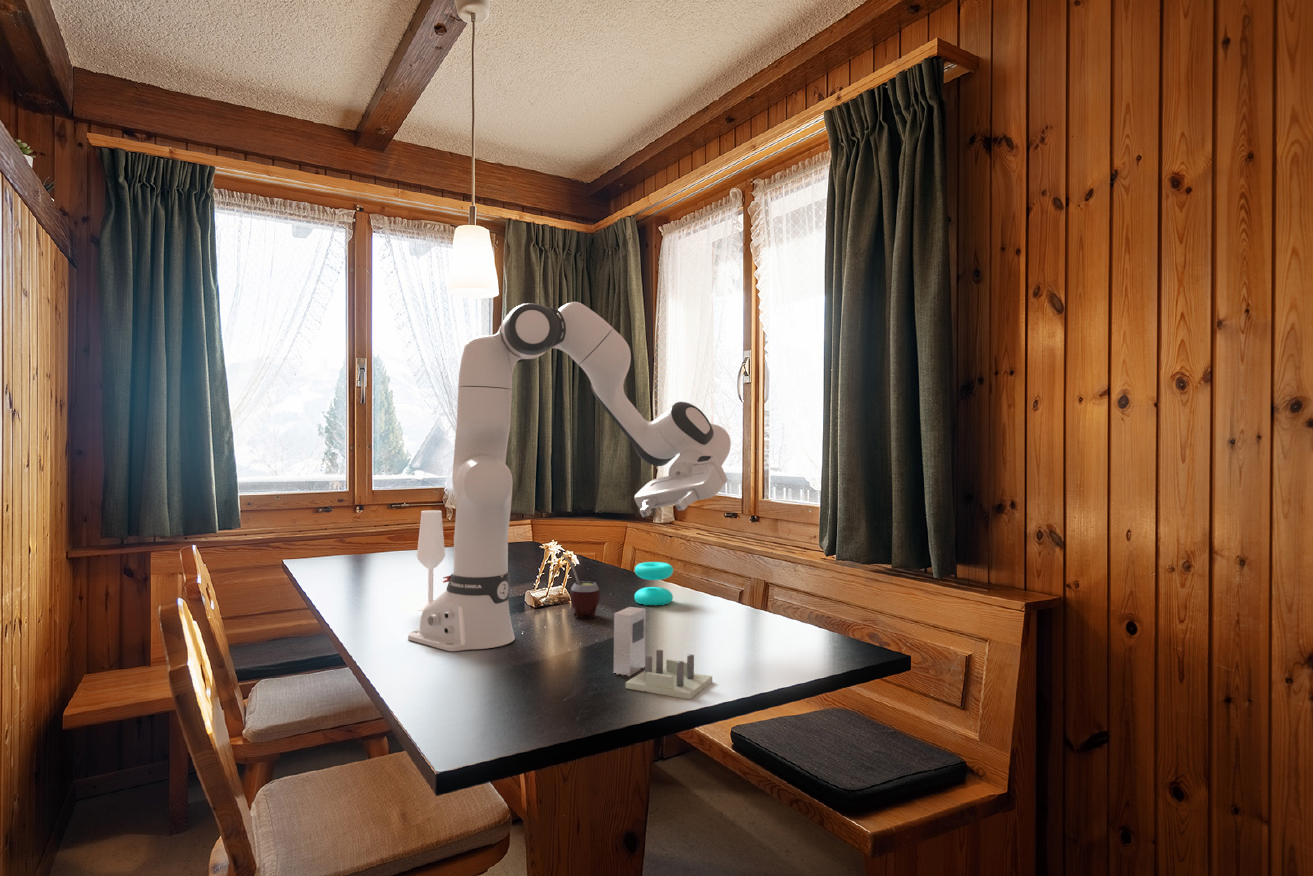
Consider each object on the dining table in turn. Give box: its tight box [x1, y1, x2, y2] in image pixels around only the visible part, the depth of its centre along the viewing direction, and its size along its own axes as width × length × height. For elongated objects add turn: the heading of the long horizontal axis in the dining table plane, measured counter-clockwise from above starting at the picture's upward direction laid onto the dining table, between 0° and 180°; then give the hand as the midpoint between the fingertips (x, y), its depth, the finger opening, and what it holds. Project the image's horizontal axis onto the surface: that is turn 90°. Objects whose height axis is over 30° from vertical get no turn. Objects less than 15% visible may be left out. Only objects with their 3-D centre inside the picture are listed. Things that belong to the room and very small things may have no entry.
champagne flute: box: [416, 509, 446, 612], centre depth 188 cm, size 7×7×24 cm
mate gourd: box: [561, 554, 601, 620], centre depth 180 cm, size 8×8×15 cm
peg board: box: [625, 649, 713, 700], centre depth 132 cm, size 12×10×5 cm
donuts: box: [634, 561, 674, 607], centre depth 196 cm, size 10×10×10 cm
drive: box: [613, 606, 647, 677], centre depth 140 cm, size 3×6×11 cm, turn 154°
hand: (661, 510), depth 155 cm, fingers open, 8 cm apart
